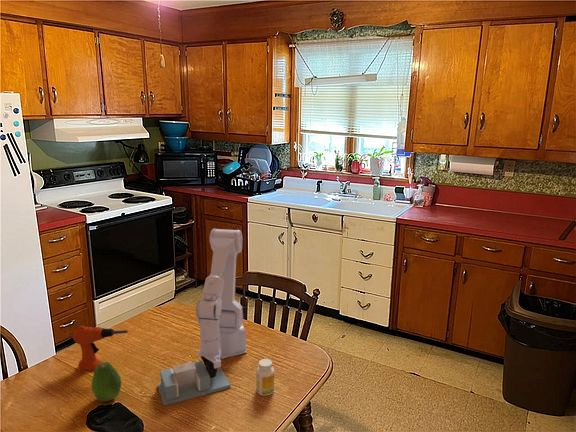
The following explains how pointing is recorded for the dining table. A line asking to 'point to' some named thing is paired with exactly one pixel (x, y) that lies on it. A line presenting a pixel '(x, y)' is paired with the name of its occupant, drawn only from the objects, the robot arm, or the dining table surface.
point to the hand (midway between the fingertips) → (211, 376)
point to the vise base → (171, 394)
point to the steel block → (185, 376)
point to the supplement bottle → (265, 377)
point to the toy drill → (91, 344)
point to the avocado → (106, 382)
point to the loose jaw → (202, 376)
